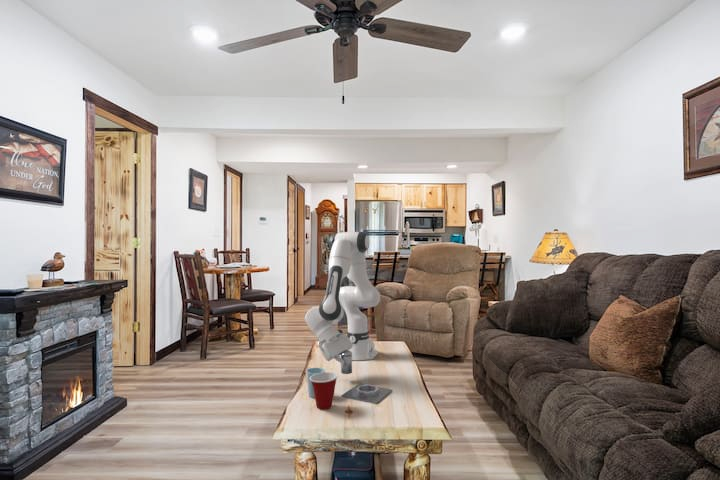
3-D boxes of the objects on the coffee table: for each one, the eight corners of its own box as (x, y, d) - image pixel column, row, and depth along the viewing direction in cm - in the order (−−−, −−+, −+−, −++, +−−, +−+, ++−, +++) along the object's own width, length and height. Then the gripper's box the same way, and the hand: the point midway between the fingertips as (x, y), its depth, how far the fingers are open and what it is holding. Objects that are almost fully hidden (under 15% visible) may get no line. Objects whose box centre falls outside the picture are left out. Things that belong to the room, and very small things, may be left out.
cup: (326, 398, 164) (326, 372, 164) (307, 400, 162) (307, 374, 162) (323, 391, 171) (323, 367, 171) (305, 393, 169) (305, 368, 169)
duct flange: (359, 384, 179) (359, 379, 180) (392, 390, 172) (392, 385, 172) (341, 396, 165) (341, 391, 165) (376, 404, 158) (376, 398, 158)
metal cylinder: (344, 369, 187) (344, 350, 187) (354, 371, 185) (354, 351, 184) (338, 373, 182) (338, 353, 182) (348, 374, 180) (348, 354, 180)
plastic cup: (310, 401, 160) (310, 371, 160) (337, 400, 161) (337, 370, 161) (308, 413, 149) (308, 380, 149) (337, 412, 150) (337, 380, 150)
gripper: (320, 339, 177) (340, 364, 173) (344, 328, 195) (362, 351, 191) (312, 347, 179) (331, 372, 175) (336, 336, 197) (354, 359, 193)
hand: (347, 361), depth 183 cm, fingers closed on metal cylinder, 5 cm apart
